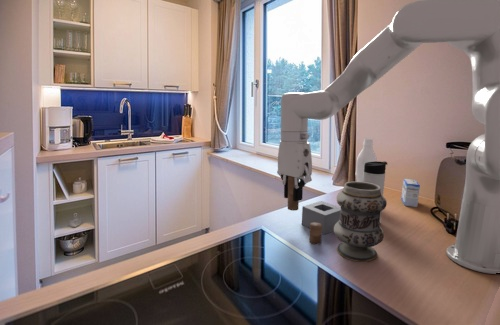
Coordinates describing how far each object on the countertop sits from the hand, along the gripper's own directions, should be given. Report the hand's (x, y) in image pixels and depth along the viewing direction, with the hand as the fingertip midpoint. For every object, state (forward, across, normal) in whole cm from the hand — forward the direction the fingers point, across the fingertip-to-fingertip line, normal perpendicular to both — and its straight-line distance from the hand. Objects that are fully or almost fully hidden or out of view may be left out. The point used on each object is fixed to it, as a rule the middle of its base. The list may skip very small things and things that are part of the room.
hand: (293, 198), depth 89 cm
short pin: (+10, -9, 0) cm, 14 cm away
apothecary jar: (+11, -20, -4) cm, 23 cm away
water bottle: (+11, +2, -39) cm, 40 cm away
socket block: (+10, -3, -10) cm, 14 cm away
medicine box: (+11, -8, -54) cm, 55 cm away
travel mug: (+11, -10, -25) cm, 29 cm away
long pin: (+3, 0, 0) cm, 3 cm away
